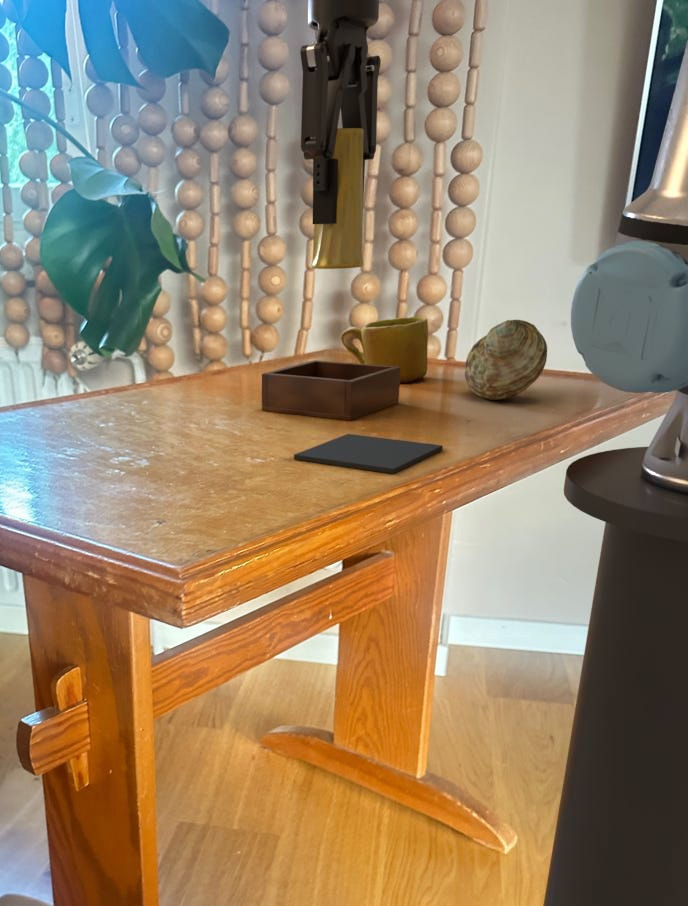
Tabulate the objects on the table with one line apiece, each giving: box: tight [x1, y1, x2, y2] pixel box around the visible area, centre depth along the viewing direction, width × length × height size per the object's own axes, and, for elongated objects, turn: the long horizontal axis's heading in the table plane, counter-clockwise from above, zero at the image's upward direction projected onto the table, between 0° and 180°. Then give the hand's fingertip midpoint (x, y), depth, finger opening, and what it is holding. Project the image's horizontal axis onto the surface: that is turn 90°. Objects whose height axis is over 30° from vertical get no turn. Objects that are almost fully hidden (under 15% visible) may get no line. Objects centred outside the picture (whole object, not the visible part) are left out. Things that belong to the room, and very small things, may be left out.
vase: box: [311, 127, 364, 270], centre depth 106 cm, size 6×6×14 cm
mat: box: [293, 433, 444, 475], centre depth 93 cm, size 11×11×1 cm
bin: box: [261, 359, 401, 421], centre depth 115 cm, size 13×13×4 cm
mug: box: [340, 316, 429, 384], centre depth 133 cm, size 12×10×10 cm
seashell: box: [464, 319, 548, 401], centre depth 117 cm, size 11×11×10 cm
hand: (338, 222), depth 107 cm, fingers closed on vase, 5 cm apart
